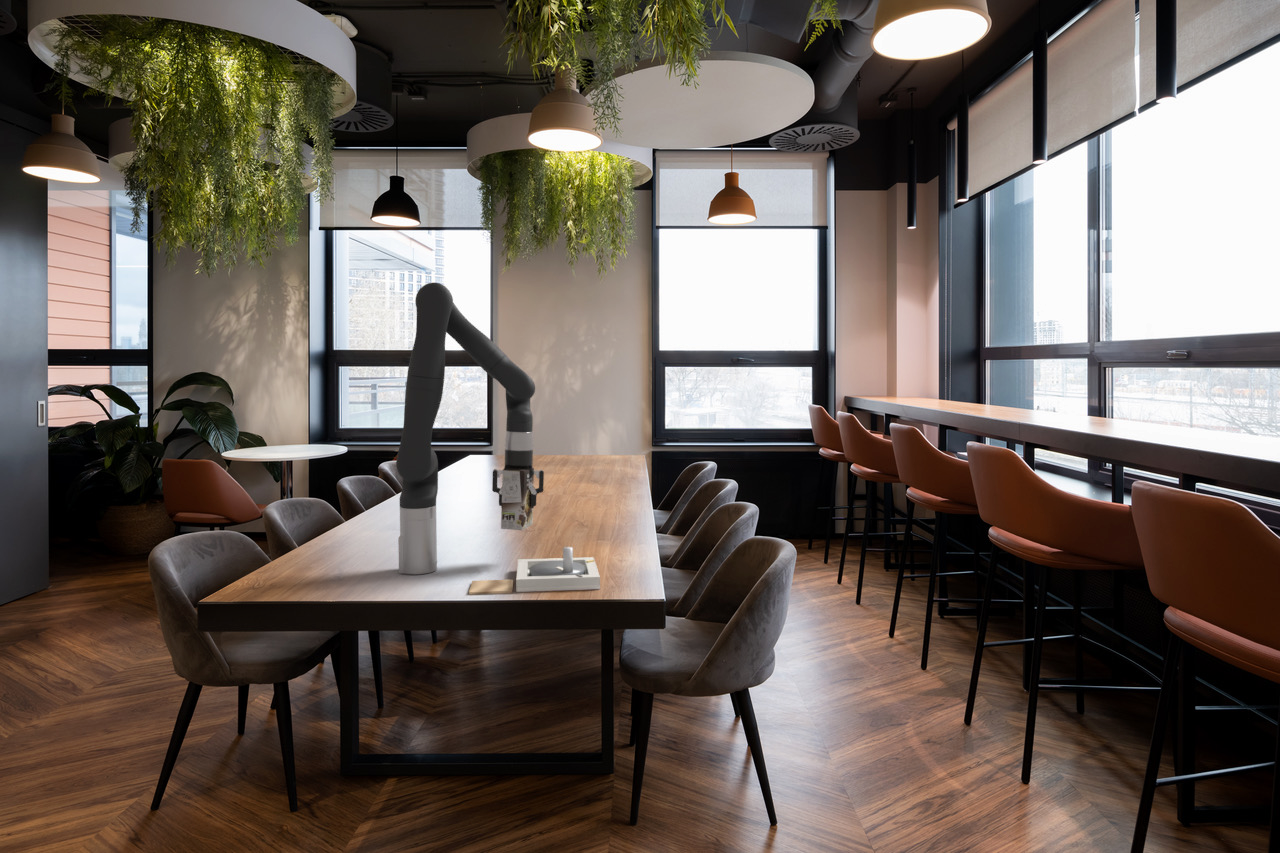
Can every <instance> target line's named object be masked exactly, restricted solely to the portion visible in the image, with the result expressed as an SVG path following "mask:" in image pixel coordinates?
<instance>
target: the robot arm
mask: <svg viewBox="0 0 1280 853" xmlns="http://www.w3.org/2000/svg"><path fill="white" fill-rule="evenodd" d="M415 308H416V328H415V338H414V342H413V346H412V350H411V353H410V358H409V363H408V367H407V374H406V384H405V386H406V387H405V396H404V407H403V408H404V410H403V411H404V413H403V426H402V428H403V429H402V432H401V438H400V443H399V447H398V450H397V451H398V452H397V456H396V462H395V464H396V466H395V467H396V470H397V473H398V474H399V476H400V478H402V485H401V492H400V495H399V528H400V529H399V536H398V574H403V575H424V574H425V575H426V574H429V573H433V572H436V571H437V569H438V549H437V548H438V547H437V545H438V544H437V543H438V542H437V541H438V540H437V538H438V537H437V532H438V531H437V496H438V490H439V486H438V485H439V461H438V456H437V454H436V452H435V450H434V449H433V448H432V438H433V436H432V435H433V428H434V426H435V425H434V424H435V421H436V419H437V416H438V412H439V409H440V406H441V402H442V398H443V393H444V392H443V391H444V383H445V374H446V373H445V369H446V336H447V334H448V335H449V336H450V337H451V338H452V339H453V340H454V341H455V342H456V343H457V344H458V345H459V346H461V348H462V349H463V351H465V352H466V353H467V354H468V355H469V356H470V357H471V359H472V360H474V362H475V363H476V364H477V366H479V367H480V368H482V370H483V371H484V372H486V373H487V375H489V376H490V377H491V378H493V379H495V380H496V381H497V382H498V383H499V384H500V385H501V386H502V387H503V388H504V389H505V403H506V426H505V427H506V430H505V431H506V432H505V438H504V440H505V441H504V468H503V469H497V468H494V469H493V470H492V492H493V493H497V494H498V506H499V507H501V509H502V486H501V487H498V479H499V478H500V477H501V476H502V475H503V470H505V469H529V478H530V479H531V477H532V476H533V475H535V477H536V478H537V479H538V488H535V485H534V483H533V484H532V483H531V482H530V481H529V489H530V491H531V492H532V494H531V508H533V509H534V507H537V495H538V494H540V493H543V492H544V480H545V472H544V470H543V469H540V470H535V469H534V470H533V468H534V467H533V460H534V459H533V458H534V455H533V454H534V436H533V427H534V426H533V424H534V423H533V422H534V421H533V420H534V419H533V413H532V411H531V399H532V397H533V396H534V394H535V392H536V385H535V382H534V381H533V378H532V377H531V376H530V375H529V374H528V373H527V372H525V371H524V370H523V369H522V368H521V367H519V366H518V365H517V363H514V362H513V361H512V360H511V359H510V358H509V357H508V355H507V354H505V352H504V351H503V350H502V349H501V348H500V347H499V346H498V345H497V344H496V343H494V341H493V340H492V339H490V338H489V337H488V336H487V335H486V334H484V333H483V332H482V331H480V330H479V329H478V328H477V327H476V326H475V325H474V324H473V323H471V322H470V321H469V320H468V318H466V317H465V316H464V315H463V313H462V312H461V311H460V310H459V308H458V307H457V306H456V304H455V303H454V298H453V296H452V293H451V291H450V290H449V289H448V288H447V286H445V285H444V284H442V283H439V282H428V283H426V284H424V285H422V286H421V287H420V288H419V290H417V293H416V296H415Z"/></svg>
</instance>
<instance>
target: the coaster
mask: <svg viewBox="0 0 1280 853" xmlns="http://www.w3.org/2000/svg"><path fill="white" fill-rule="evenodd" d="M513 586H514V579H492V580H491V579H490V580H487V579H485V580H472V581H471V585H470V587H469V590H468V595H469V596H473V595H474V596H475V595H476V596H477V595H497V594H499V595H501V594H503V595H505V594H513Z"/></svg>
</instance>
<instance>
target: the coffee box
mask: <svg viewBox="0 0 1280 853" xmlns="http://www.w3.org/2000/svg"><path fill="white" fill-rule="evenodd" d="M502 470H503V469H502ZM533 470H534V471H535V468H534V467H533ZM534 475H535V474H534ZM534 475H533V476H532V477H531V479H530V478H529V469H505V470H503V474H502V482H501V484H502V485H501V487H502V508H501V511H500V512H501V513H500V514H501V515H500V516H501V519H500V529H502V530H512V531H523V530H526V529H527V528H529V527H531V526H532V525H533V523H534V522H533V521H534V520H533V517H534V508H531V494H532V492H531V491H530V489H529V481H530V482H531V483H532V484H533V485H534V482H535V481H534V480H535V479H534V477H535V476H534Z"/></svg>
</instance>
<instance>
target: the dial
mask: <svg viewBox="0 0 1280 853" xmlns="http://www.w3.org/2000/svg"><path fill="white" fill-rule="evenodd" d="M573 553H574V547H573V546H564V547H563V548H562V558H563V561H549V562H542V563H537V564H534V565H532V566H531V567H530V568H529V575H530V576H558V575H576V574H579V575H585V566H584V565H582V564H580V563H576V562H573V558H574V556H573V555H574V554H573Z"/></svg>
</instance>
